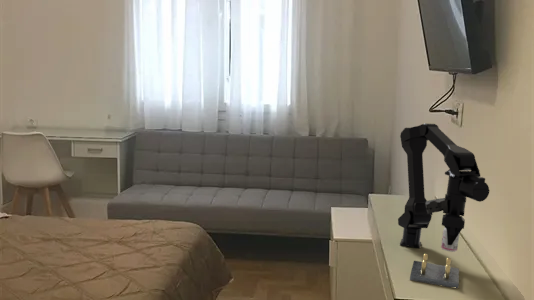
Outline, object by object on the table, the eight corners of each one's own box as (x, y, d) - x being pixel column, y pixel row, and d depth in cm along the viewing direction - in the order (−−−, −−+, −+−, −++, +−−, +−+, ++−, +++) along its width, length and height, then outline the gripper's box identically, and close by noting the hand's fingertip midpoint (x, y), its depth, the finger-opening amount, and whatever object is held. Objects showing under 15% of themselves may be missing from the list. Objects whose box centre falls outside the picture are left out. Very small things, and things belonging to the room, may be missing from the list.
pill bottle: (439, 245, 183) (443, 219, 181) (455, 247, 182) (459, 221, 181) (442, 250, 178) (446, 223, 177) (458, 252, 178) (462, 225, 176)
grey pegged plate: (413, 265, 179) (415, 249, 178) (458, 273, 175) (460, 257, 174) (409, 279, 166) (411, 262, 166) (458, 288, 163) (460, 271, 162)
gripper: (430, 183, 188) (424, 230, 191) (427, 195, 171) (420, 246, 173) (467, 188, 185) (460, 236, 188) (467, 201, 168) (460, 253, 170)
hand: (449, 242), depth 180 cm, fingers closed on pill bottle, 5 cm apart
